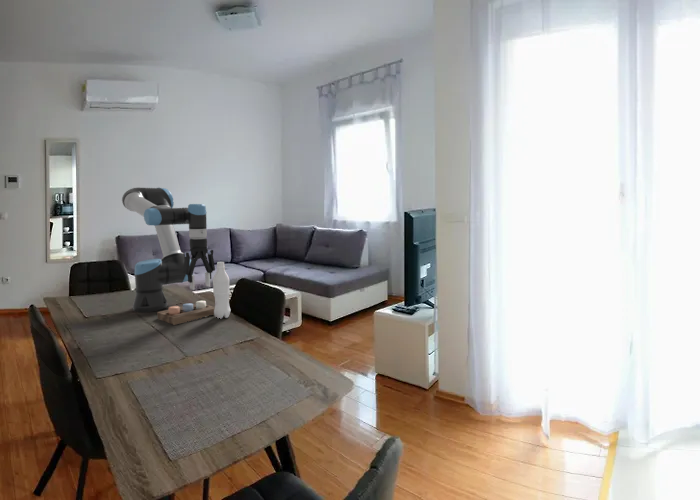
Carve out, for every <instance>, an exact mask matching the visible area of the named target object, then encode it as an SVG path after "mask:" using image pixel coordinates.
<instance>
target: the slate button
mask: <svg viewBox="0 0 700 500" xmlns="http://www.w3.org/2000/svg"><path fill="white" fill-rule="evenodd" d="M193 305H194V303H189V302H188V303H187V302H186V303H183V304H182V307H183V312H190V311H193Z"/></svg>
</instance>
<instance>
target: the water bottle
mask: <svg viewBox="0 0 700 500" xmlns="http://www.w3.org/2000/svg"><path fill="white" fill-rule="evenodd" d="M216 264H217V265H216V272H215V274H214V276H213V278H212V282H213V283H212V286H213V287H212V288H213V291H212V294H213V296H214V307H215V309H214V315H213V316H214V318H216V317H217V318H216V319H219V318H220V319H219V320H222V319H223V318H225V319H228V318H229V317H230V315H231V307H230V301H229V299H230V294H231V290H230V288H231V287H230V281H231V280H230V277H229V275H228V273H227V272H226V269H225V268H226V266H225V261H217V263H216Z"/></svg>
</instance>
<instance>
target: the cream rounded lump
mask: <svg viewBox="0 0 700 500" xmlns="http://www.w3.org/2000/svg"><path fill="white" fill-rule="evenodd" d="M195 304H196V309H203V308H206V305H207V301H206V300H197V301H196V302H195Z"/></svg>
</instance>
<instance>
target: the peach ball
mask: <svg viewBox="0 0 700 500" xmlns="http://www.w3.org/2000/svg"><path fill="white" fill-rule="evenodd" d="M179 307H180V306H178V305H173V306H169V307H167V308H168V309H167V310H169V315H171V316H172V315H176V314H180V309H179Z"/></svg>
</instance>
